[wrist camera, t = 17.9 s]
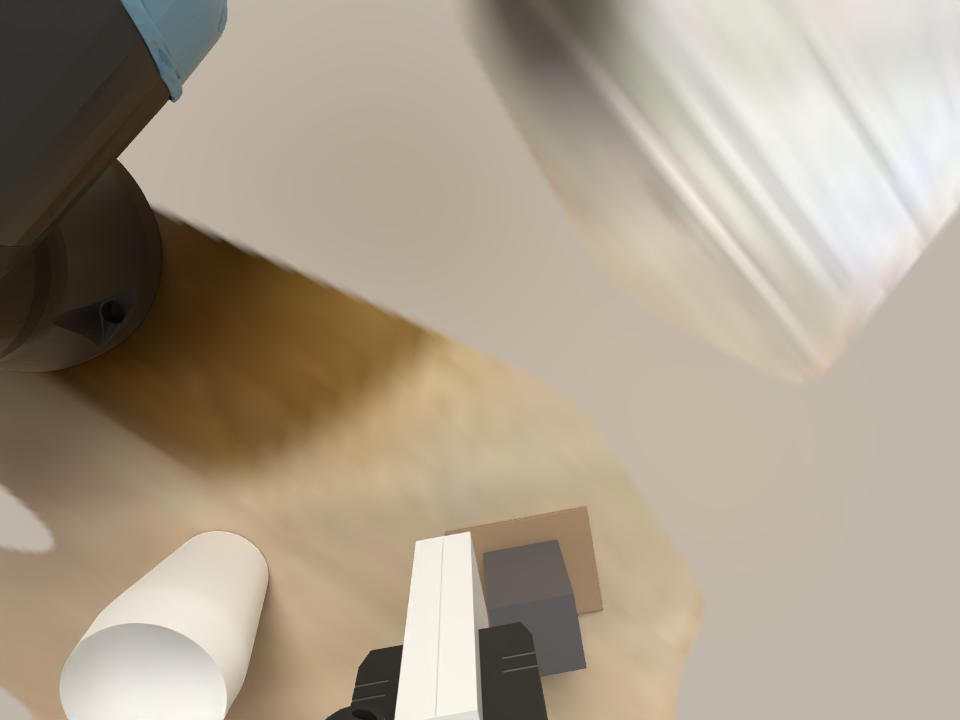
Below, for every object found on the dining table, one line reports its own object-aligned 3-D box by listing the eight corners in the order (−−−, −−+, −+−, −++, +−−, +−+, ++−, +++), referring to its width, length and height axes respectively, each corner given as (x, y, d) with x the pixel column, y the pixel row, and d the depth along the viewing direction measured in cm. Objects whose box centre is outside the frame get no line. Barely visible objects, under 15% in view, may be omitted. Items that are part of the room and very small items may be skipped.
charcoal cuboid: (496, 618, 47) (502, 683, 41) (483, 552, 46) (487, 609, 40) (568, 604, 47) (586, 668, 41) (557, 539, 46) (573, 593, 40)
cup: (310, 554, 47) (261, 670, 35) (248, 650, 48) (181, 792, 37) (193, 490, 45) (102, 589, 34) (133, 591, 47) (26, 720, 35)
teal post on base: (466, 630, 49) (468, 700, 42) (445, 532, 47) (443, 588, 40) (601, 605, 48) (625, 671, 42) (586, 506, 47) (608, 558, 40)
